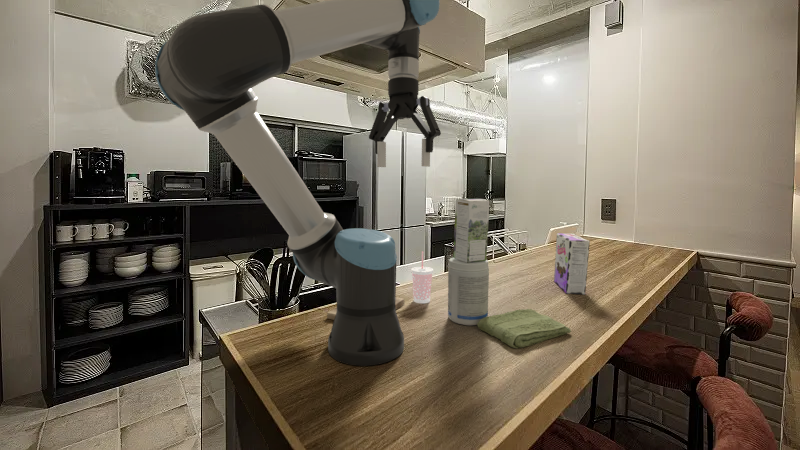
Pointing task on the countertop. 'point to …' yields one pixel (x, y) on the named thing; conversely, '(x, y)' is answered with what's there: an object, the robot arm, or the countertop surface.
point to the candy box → (571, 263)
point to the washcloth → (522, 327)
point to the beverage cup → (422, 283)
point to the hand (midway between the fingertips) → (402, 166)
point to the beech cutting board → (332, 313)
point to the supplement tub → (467, 291)
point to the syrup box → (471, 230)
